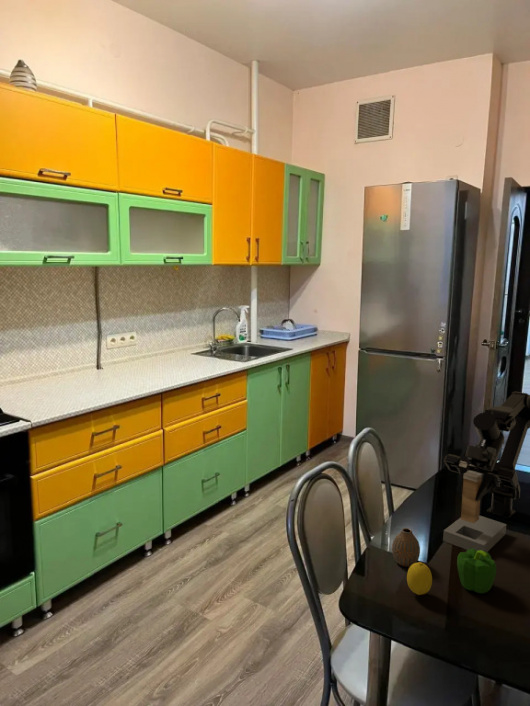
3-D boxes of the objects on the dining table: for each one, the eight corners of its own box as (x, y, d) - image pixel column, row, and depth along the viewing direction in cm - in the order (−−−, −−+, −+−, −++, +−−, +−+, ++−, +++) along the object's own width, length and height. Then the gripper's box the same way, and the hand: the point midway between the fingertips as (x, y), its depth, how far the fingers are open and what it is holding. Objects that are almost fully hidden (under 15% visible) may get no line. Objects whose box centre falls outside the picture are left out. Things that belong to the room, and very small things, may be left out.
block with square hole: (467, 521, 154) (468, 511, 154) (505, 534, 147) (506, 524, 146) (442, 540, 143) (443, 530, 142) (483, 555, 135) (483, 545, 135)
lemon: (432, 603, 116) (434, 570, 115) (406, 600, 117) (408, 567, 116) (429, 589, 121) (431, 557, 120) (405, 586, 122) (407, 554, 121)
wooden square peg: (466, 514, 143) (469, 470, 141) (479, 519, 141) (482, 473, 139) (460, 519, 141) (463, 473, 139) (473, 523, 138) (477, 477, 136)
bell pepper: (451, 576, 126) (453, 538, 125) (485, 577, 126) (488, 539, 124) (463, 597, 118) (466, 557, 116) (499, 598, 118) (503, 558, 116)
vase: (419, 557, 134) (421, 526, 133) (418, 572, 128) (420, 539, 127) (392, 553, 137) (394, 521, 135) (390, 566, 130) (391, 534, 129)
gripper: (448, 426, 146) (427, 474, 140) (517, 441, 134) (498, 495, 128) (459, 446, 153) (439, 492, 147) (525, 462, 140) (507, 514, 134)
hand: (469, 497), depth 139 cm, fingers closed on wooden square peg, 3 cm apart
